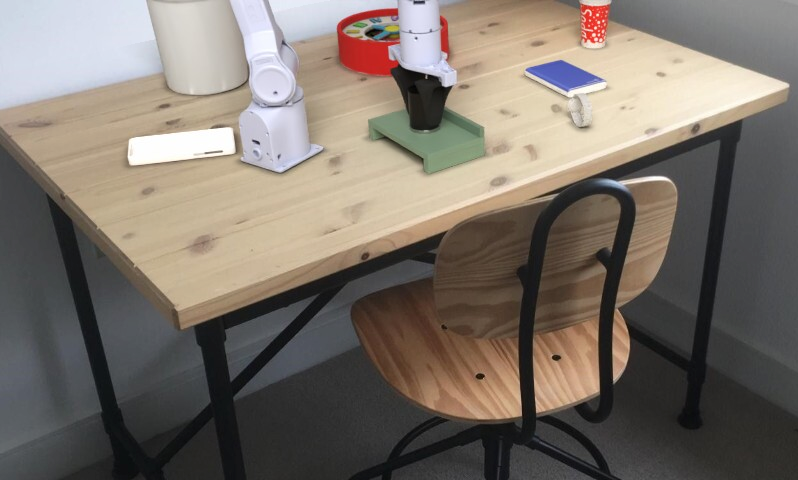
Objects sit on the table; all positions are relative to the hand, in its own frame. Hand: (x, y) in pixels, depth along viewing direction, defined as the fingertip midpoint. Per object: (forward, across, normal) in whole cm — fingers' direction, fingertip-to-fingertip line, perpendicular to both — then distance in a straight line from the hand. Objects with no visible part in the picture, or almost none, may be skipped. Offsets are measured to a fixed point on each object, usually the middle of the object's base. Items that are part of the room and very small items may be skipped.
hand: (424, 119), depth 142 cm
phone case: (+5, +21, +29) cm, 36 cm away
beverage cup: (+5, +18, -51) cm, 54 cm away
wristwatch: (+5, -8, -23) cm, 25 cm away
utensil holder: (+5, +46, +14) cm, 48 cm away
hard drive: (+5, +7, -34) cm, 35 cm away
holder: (+1, 0, 0) cm, 1 cm away
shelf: (+4, 0, 0) cm, 4 cm away
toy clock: (+5, +36, -18) cm, 41 cm away
